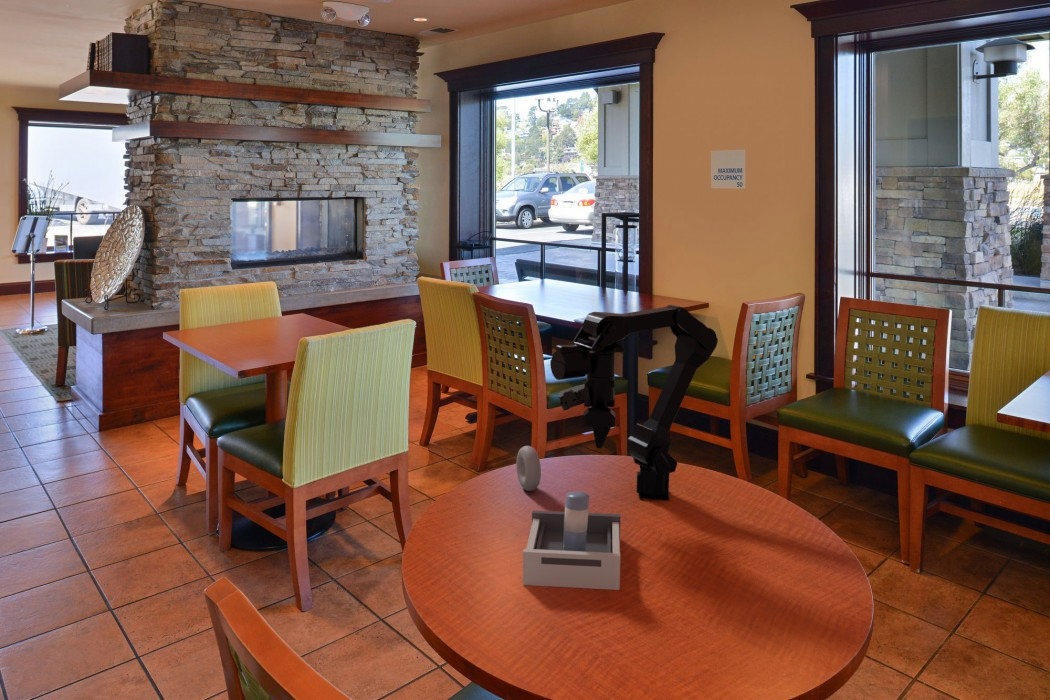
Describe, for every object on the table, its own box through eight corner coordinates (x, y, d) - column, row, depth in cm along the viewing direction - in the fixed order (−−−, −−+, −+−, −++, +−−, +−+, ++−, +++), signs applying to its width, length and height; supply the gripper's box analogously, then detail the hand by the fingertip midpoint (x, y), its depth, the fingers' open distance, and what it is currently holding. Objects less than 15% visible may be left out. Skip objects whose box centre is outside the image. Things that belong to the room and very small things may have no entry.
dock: (533, 538, 151) (533, 508, 150) (618, 542, 150) (619, 512, 148) (522, 584, 133) (522, 551, 132) (619, 589, 132) (620, 556, 130)
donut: (543, 496, 172) (543, 453, 170) (528, 498, 171) (528, 454, 169) (528, 481, 181) (528, 439, 179) (514, 482, 180) (514, 440, 178)
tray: (532, 533, 153) (532, 510, 152) (619, 537, 151) (620, 514, 150) (522, 578, 135) (522, 553, 134) (621, 584, 133) (621, 558, 132)
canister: (586, 557, 141) (591, 493, 138) (582, 566, 137) (587, 501, 135) (564, 553, 141) (568, 490, 139) (559, 563, 138) (563, 497, 136)
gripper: (563, 363, 170) (562, 433, 174) (558, 384, 152) (557, 461, 155) (615, 365, 169) (613, 434, 172) (616, 386, 151) (614, 463, 154)
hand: (599, 447), depth 164 cm, fingers closed
